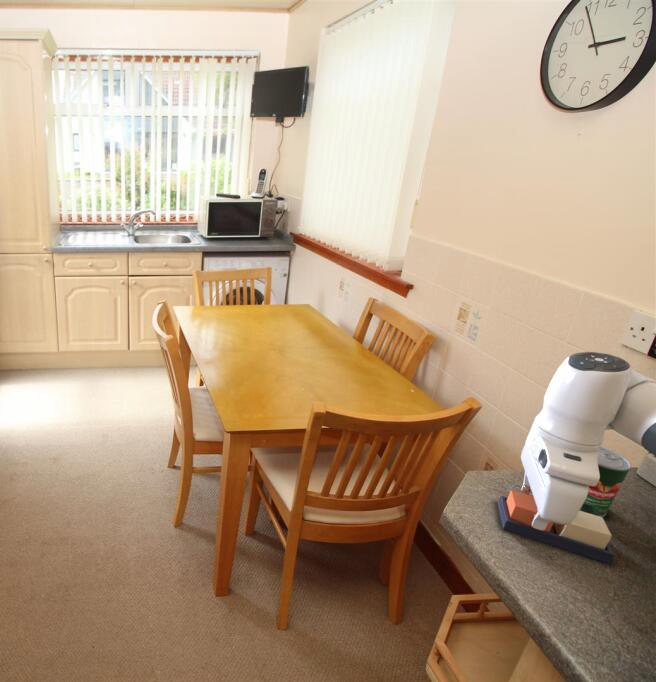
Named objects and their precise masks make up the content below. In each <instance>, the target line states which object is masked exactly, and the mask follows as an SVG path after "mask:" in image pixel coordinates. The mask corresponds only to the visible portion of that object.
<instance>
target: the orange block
mask: <svg viewBox="0 0 656 682" xmlns="http://www.w3.org/2000/svg"><path fill="white" fill-rule="evenodd" d="M507 498H508V499H507V501H506V505H507V509H508V513H509V517H510V520H512V521H516V522H519V523H522V524H525V525H528V526H531V527H532V524H531V519H532V516H533V514H535V515H536V514H537V513H538V510H537V509H538V508H537V505H536V502H535V499H534V497H533V496H530V495H527V494H523V493H522V492H519V491H517V490H513V489H511V490H510V492H509V494H508V497H507ZM553 524H554V522H550V523H548V524H547V527H546V529H545V530H544V531H547V532H550V530H551V528H552V526H553Z"/></svg>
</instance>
